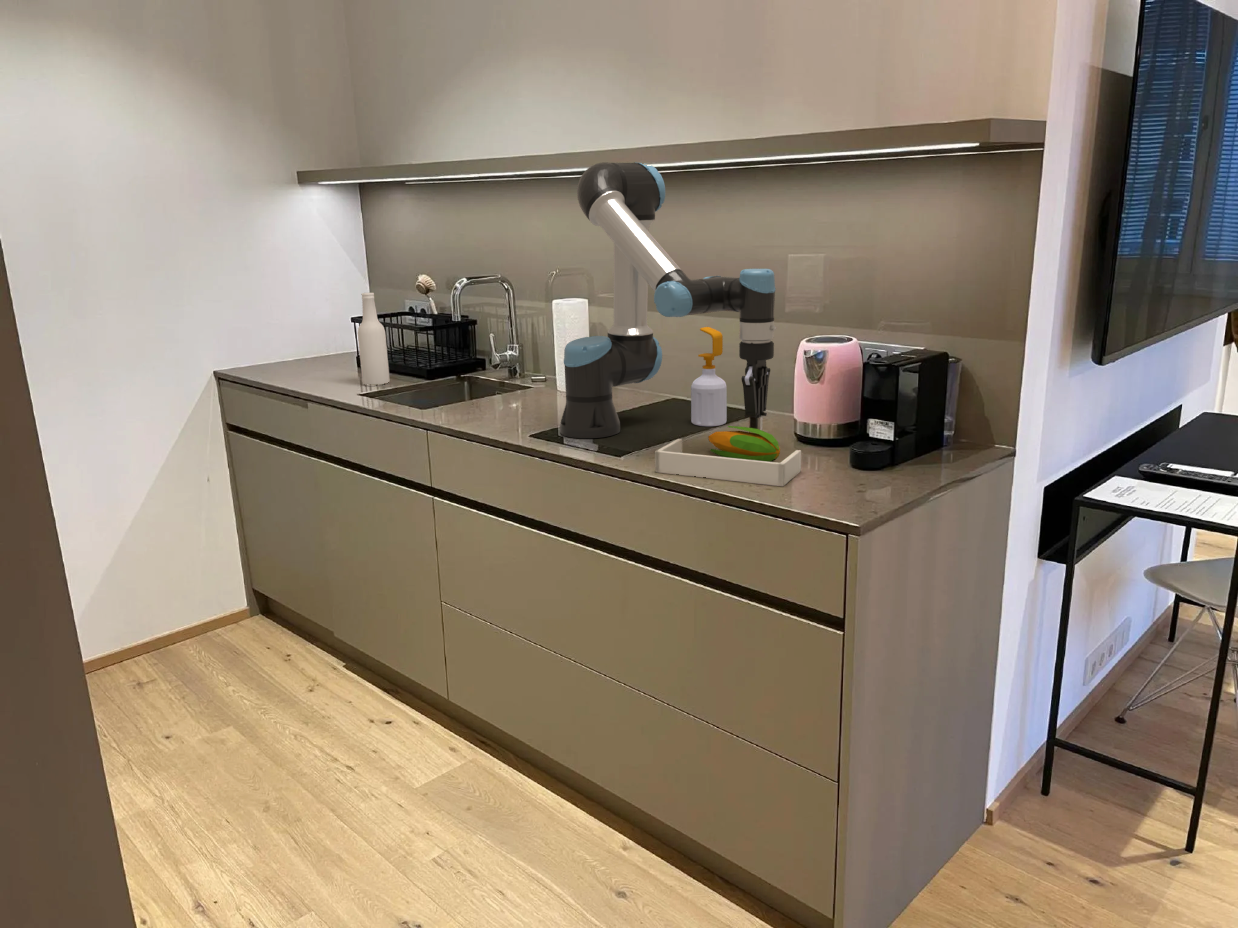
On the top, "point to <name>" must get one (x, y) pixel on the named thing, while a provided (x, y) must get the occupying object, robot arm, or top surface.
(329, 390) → the top surface
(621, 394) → the top surface
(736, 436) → the corn
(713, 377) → the soap bottle
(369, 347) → the alcohol
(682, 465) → the tray
